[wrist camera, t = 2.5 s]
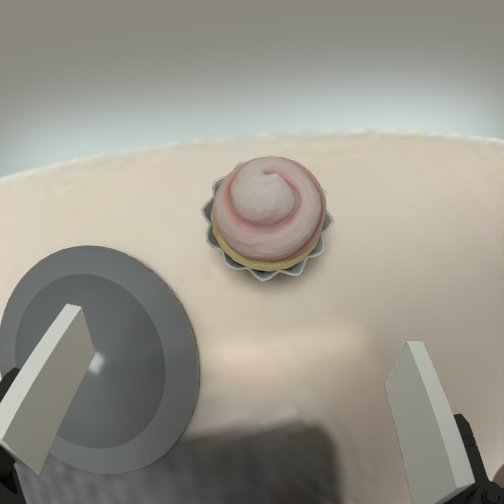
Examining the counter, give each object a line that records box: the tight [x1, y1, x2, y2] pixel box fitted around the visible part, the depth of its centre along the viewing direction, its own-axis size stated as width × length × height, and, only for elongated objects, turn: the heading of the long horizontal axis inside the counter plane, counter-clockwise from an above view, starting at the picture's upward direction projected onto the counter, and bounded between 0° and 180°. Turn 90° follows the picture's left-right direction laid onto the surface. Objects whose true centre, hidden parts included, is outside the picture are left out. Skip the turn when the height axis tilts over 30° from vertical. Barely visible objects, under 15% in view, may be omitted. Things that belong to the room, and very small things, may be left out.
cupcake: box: [201, 156, 335, 281], centre depth 22 cm, size 9×9×10 cm
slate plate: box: [0, 246, 200, 474], centre depth 23 cm, size 20×20×1 cm
